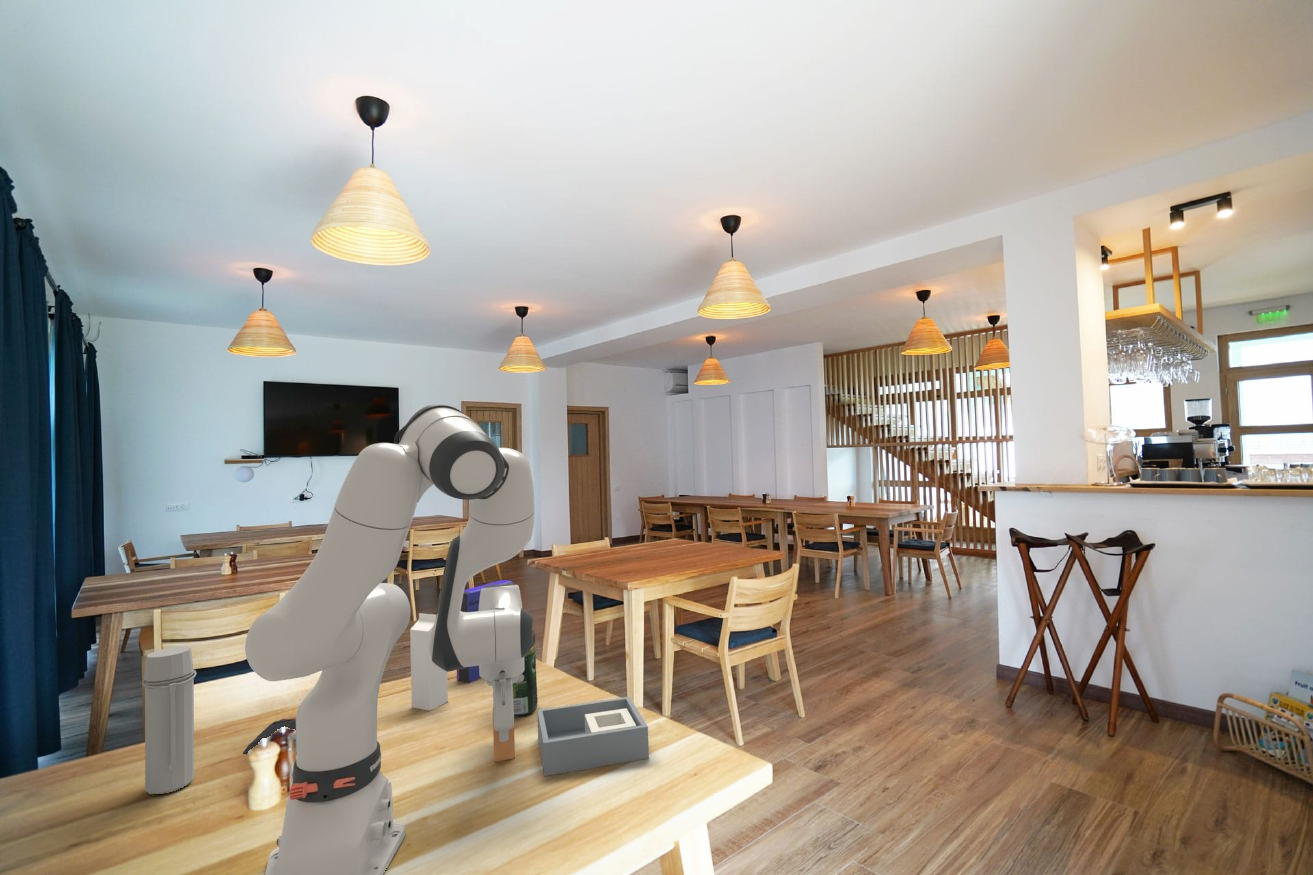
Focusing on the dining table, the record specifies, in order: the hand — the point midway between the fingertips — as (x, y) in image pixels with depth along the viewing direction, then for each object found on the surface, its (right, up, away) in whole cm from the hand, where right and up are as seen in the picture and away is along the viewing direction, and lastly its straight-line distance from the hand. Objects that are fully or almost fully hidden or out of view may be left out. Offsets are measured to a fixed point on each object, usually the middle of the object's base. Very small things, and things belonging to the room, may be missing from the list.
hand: (503, 734), depth 120 cm
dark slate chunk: (-45, -7, +11) cm, 47 cm away
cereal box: (-17, -7, +50) cm, 53 cm away
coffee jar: (-2, -5, +22) cm, 23 cm away
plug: (0, -4, 0) cm, 4 cm away
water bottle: (-60, -6, -8) cm, 61 cm away
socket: (+21, -2, +3) cm, 21 cm away
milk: (-25, -6, +27) cm, 37 cm away
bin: (+17, -4, +1) cm, 18 cm away
